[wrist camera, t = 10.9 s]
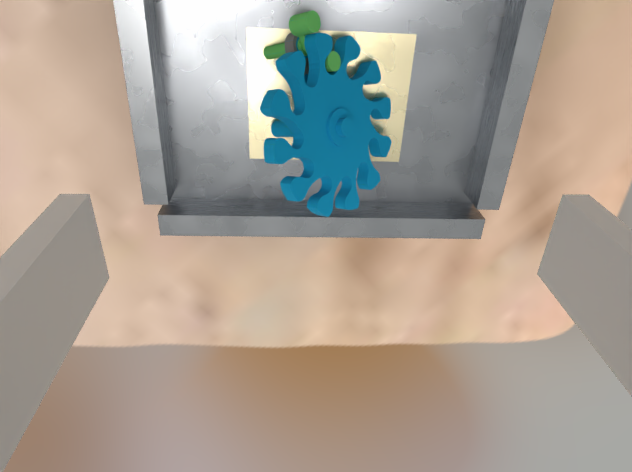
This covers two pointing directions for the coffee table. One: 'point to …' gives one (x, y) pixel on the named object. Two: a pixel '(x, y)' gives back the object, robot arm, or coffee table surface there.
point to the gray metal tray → (253, 127)
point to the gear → (324, 116)
